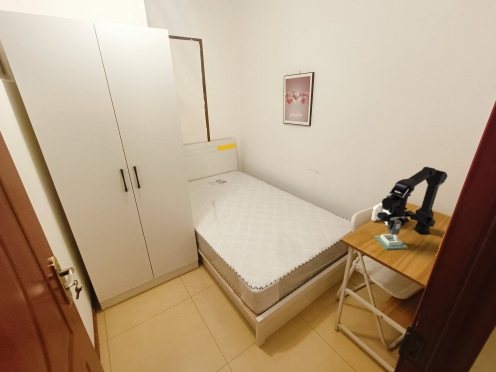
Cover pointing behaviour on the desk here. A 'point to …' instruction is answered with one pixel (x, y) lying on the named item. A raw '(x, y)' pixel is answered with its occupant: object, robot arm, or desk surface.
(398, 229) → the plug
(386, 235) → the socket
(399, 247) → the board
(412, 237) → the desk surface
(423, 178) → the robot arm
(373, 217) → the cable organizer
